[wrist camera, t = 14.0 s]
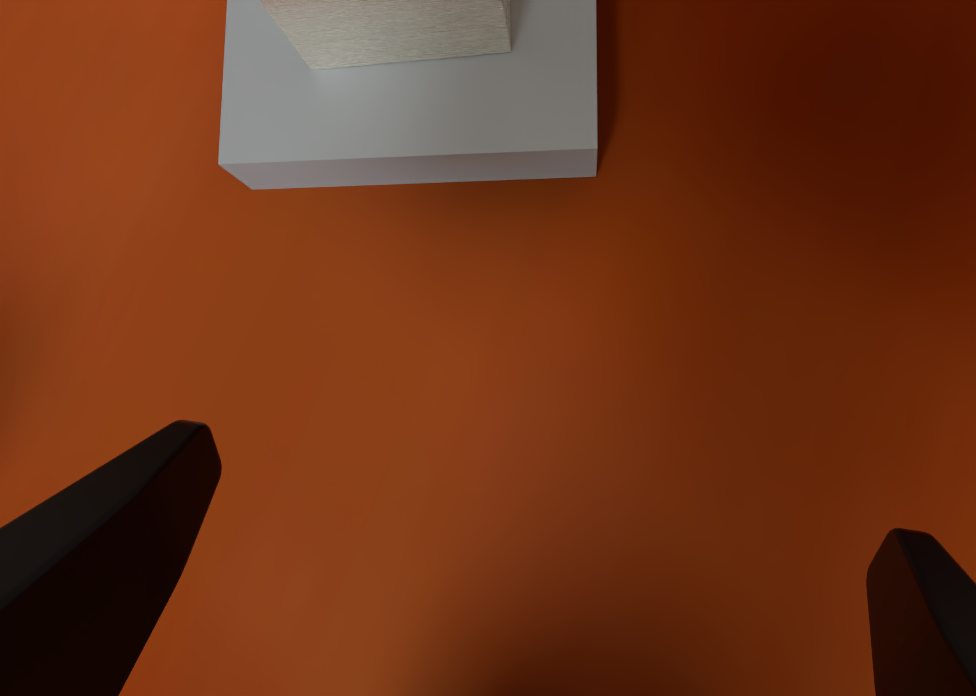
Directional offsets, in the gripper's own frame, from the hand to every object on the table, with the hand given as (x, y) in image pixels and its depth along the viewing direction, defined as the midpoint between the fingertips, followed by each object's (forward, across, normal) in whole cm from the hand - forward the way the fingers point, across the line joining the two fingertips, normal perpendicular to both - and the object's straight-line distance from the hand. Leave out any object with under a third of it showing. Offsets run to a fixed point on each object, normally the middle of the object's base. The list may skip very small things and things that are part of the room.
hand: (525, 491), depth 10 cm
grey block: (+20, +7, 0) cm, 21 cm away
